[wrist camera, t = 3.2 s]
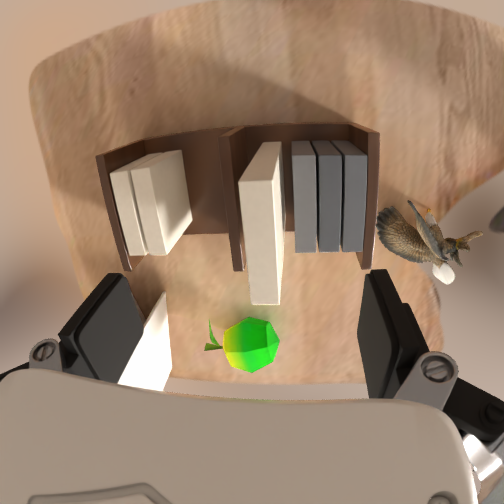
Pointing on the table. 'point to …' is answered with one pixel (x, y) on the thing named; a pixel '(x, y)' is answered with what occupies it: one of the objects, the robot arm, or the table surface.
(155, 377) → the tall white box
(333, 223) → the grey books
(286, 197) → the book rack
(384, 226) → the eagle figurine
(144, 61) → the table surface
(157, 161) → the white books
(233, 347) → the apple
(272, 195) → the white book
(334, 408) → the robot arm
